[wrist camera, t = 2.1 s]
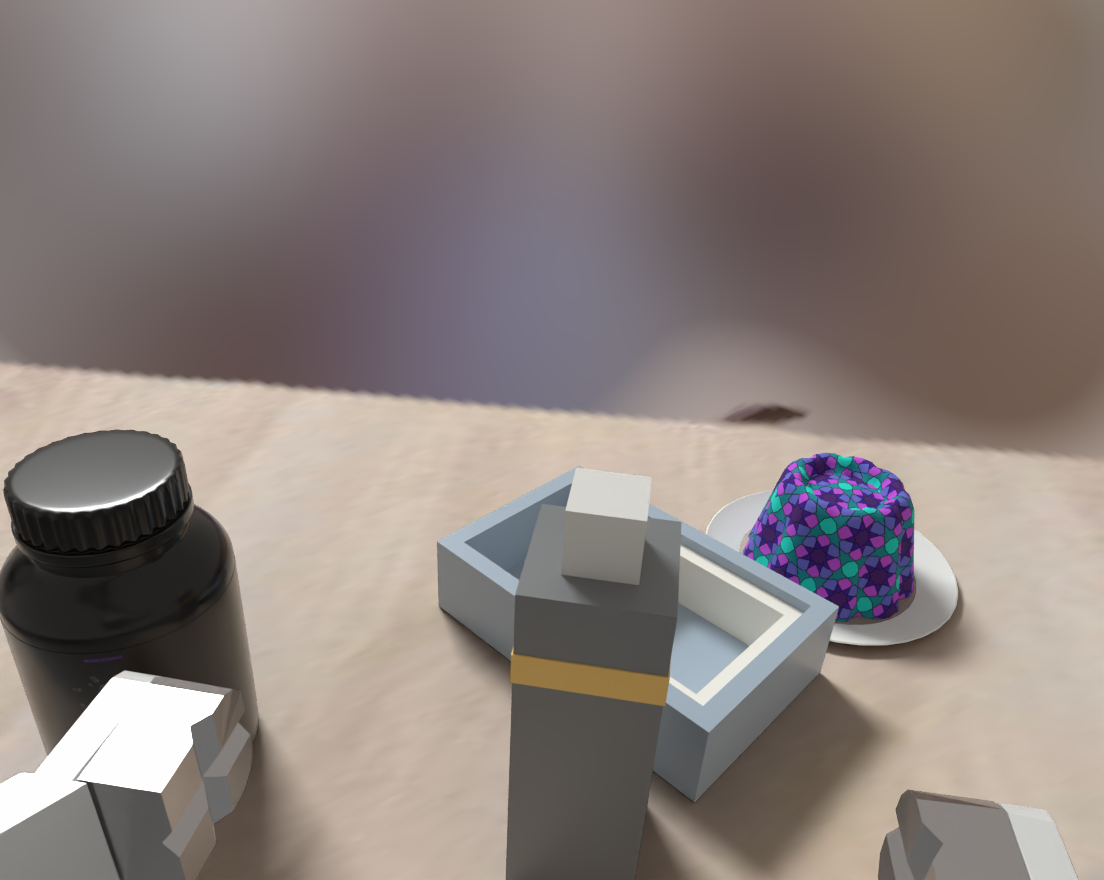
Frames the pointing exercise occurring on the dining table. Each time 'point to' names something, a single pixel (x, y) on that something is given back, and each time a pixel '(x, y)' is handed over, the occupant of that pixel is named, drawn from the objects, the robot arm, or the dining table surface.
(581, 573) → the grey bottle
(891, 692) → the dining table surface
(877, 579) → the pudding
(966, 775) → the dining table surface
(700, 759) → the walled box
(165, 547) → the supplement bottle
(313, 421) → the dining table surface
